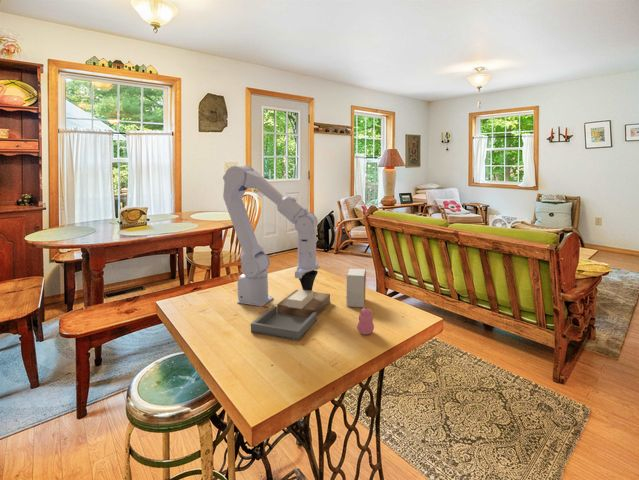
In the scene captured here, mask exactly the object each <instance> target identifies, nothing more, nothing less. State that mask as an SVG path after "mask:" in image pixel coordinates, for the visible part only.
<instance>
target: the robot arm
mask: <svg viewBox="0 0 639 480" xmlns="http://www.w3.org/2000/svg"><path fill="white" fill-rule="evenodd" d="M222 179H223V182H224V185H223V193H222V195H223V196H222V197H223V200H224V203H225V204H224V205H225V206H226V208H227V211H228V215H229V217H230V220H231V222H232V225H233V229H234V232H235V234H236V237H237V239H238V242H239V245H240V248H241V252H240V255H239V256H240V257H239V258H240V262H241V266H240V267H241V272H242V274H241V275H239V276H238V279H237V298H238V299H237V300H236V302H237V304H243V305H250V306H257V307H263V306H265V305H266V304H268V303H269V302H270V301H271V300H273V299H274V297H273V296H270V295H269V281H268V280H269V279H268V277H269V276H268V273H269V272H268V270H267V269H268V268H269V267H270V263H271V261H270V257H269V255H268V254H266V253H265V251H264V248H263V247H262V246H261V245H260V244H259V243H258V240H257V238H256V235H255V232H254V229H253V226H252V223H251V221H250V217H249V214H248V212H247V210H246V206H245V203H244V200H243V197H244V195H245V193H246V191H247V190H248V189H253V190H254V189H255V190H257V191H258V192H260V193H261V194H263V195H264V197H266V199H269V200H270V201H271V202H273V203H274V204H275V205H276V209H277V211H278V212H279V213H280V214H281V215H282V216H283V217H285V218H286V219H287V220H288V221H289V222H290V223H292V224H293V225H294V229H295V230H296V232H297V266H296V270H295V271H294V278H295V279H298V280H299V282H300V286H301V290H309V291H313V287H314V282H315V279H316V278H317V275H318V270H321V269H320V267H321V266H320V265H319V259H318V260H317V236H316V235H317V234H316V228H317V226H318V225H319V224H318V223H319V222H318V218H317V216H316V215H315V213H313V212H312V211H311V212H310V211H309V209H307V208H304V207H303V206H301V205H300V204H299V203H298V202H297V198H295V197H291V196H288V195H287V196H283V194H282V193H281V192H279V191H278V190H277V188H275V187H274V186H273V185H272V184H271V183H270V182H269V181H268V180H267V179H266V178H265V177H263V176H262V174H261V173H260V172H258V171H257V170H255V169H254V168H253V167H252V166H250V165H242V166H238V165H232V166H230V167H228V168H227V170H226V171H225V172H224V175H223V177H222Z"/></svg>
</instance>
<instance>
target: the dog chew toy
mask: <svg viewBox="0 0 639 480" xmlns="http://www.w3.org/2000/svg"><path fill="white" fill-rule="evenodd" d="M373 321H374V316H373V314H372V310H371V309H370V308H369V307H367V306H364V307H362V308H361V309H360V314H359V315H358V321H357V322H358V323H357V325H356V328H357V330H358V332H359V333H360V334H361V335H370V334H372V333H373V331H374V328H375V325H374V322H373Z"/></svg>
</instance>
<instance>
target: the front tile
mask: <svg viewBox="0 0 639 480" xmlns="http://www.w3.org/2000/svg"><path fill="white" fill-rule="evenodd" d="M287 302H288V307H291V308H298V309H302V308H303V307H304V306H305V305H306V304H307V296H306V295H298V294H293V295H292V296H291V297H289V298H288V299H287Z"/></svg>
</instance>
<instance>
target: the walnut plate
mask: <svg viewBox="0 0 639 480" xmlns="http://www.w3.org/2000/svg"><path fill="white" fill-rule="evenodd" d="M298 290H299V289H294V291H292V293H290V294H289V295H288V296H286V297H284V299H282V300H281V301H280V302H278V303H277V304H276V309H277V313H281V314H287V315H293V316H300V317H306V318H308V317H309V316H310V315H311V314H312V313H313V312H316V313H317V317H318V316H319V315H320V314H321V313H322V312H323V311H324V310H325V309H326V308H327V306H329V305H330V303H331V294H330V293H326V292H325V293H324V292H318V291H317V292H316V291H313V299H312V300H311V301H310V302H309V303H308V304H306V305H305V306H304V307H303V308H302V309H298V308H291V307H288V302H287V299H288V298H289V297H291V296H292V295H293V294H294V293H296V292H297V291H298Z"/></svg>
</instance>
